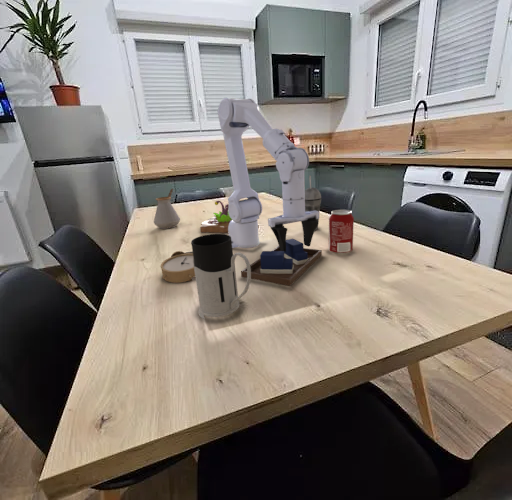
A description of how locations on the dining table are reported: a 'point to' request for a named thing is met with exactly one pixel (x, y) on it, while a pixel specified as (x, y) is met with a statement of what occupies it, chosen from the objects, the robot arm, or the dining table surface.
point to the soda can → (341, 231)
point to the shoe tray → (282, 278)
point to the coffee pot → (166, 213)
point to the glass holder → (217, 275)
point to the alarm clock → (178, 267)
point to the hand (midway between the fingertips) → (295, 248)
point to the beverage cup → (312, 199)
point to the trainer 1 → (275, 263)
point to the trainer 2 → (295, 252)
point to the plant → (217, 221)
